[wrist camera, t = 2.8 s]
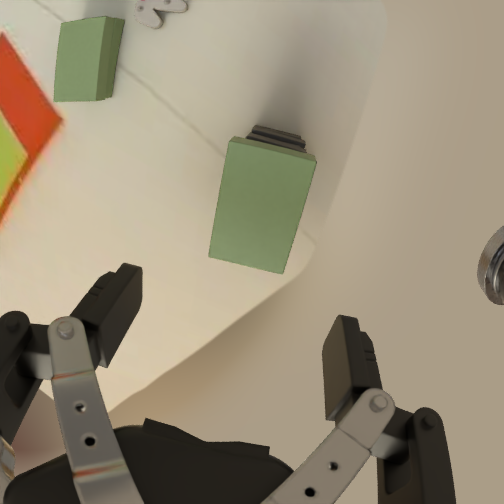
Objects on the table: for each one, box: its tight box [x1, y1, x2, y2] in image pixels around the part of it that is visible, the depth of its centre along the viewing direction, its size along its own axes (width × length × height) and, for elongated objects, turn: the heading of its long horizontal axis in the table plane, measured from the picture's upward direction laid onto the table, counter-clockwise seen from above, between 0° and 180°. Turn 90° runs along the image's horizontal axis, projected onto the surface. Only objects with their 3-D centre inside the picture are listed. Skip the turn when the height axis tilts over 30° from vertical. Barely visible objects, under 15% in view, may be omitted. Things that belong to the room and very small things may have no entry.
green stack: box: [54, 16, 124, 102], centre depth 24 cm, size 9×6×4 cm
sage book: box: [208, 136, 317, 274], centre depth 22 cm, size 8×6×2 cm, turn 168°
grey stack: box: [245, 125, 306, 153], centre depth 26 cm, size 8×5×9 cm, turn 168°
